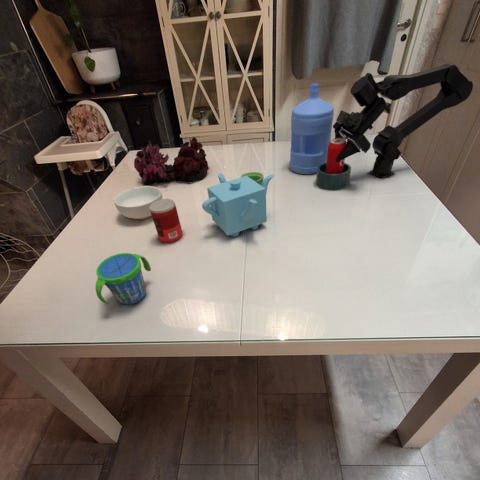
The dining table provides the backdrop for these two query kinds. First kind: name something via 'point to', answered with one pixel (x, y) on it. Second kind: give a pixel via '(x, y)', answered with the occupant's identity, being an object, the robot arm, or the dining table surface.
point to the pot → (332, 178)
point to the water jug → (310, 133)
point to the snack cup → (122, 277)
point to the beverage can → (335, 156)
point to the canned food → (166, 220)
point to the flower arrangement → (183, 170)
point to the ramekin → (255, 176)
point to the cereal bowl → (137, 201)
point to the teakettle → (237, 204)
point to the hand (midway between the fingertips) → (332, 158)
